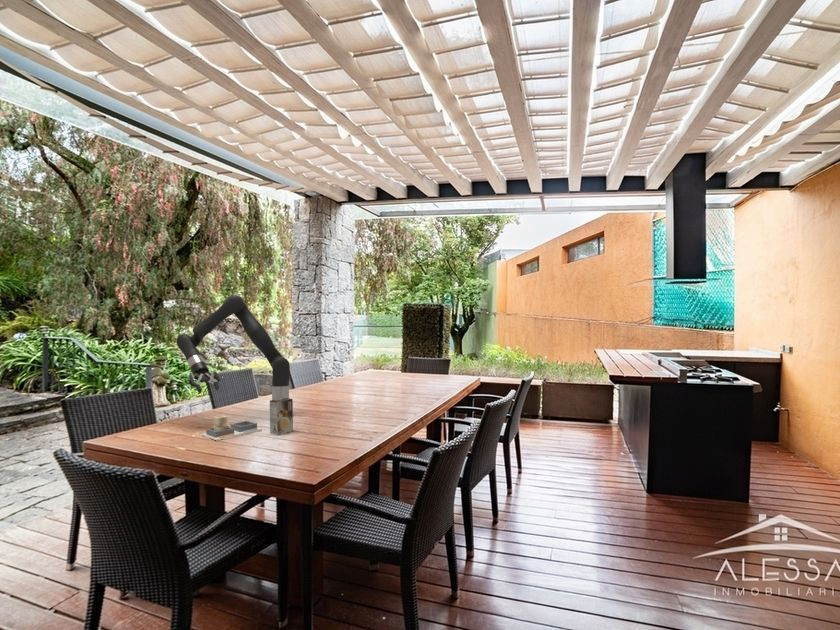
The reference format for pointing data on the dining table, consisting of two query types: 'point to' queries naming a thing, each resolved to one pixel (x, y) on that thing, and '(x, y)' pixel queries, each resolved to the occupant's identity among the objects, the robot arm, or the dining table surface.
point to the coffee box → (281, 416)
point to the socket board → (233, 430)
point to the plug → (220, 423)
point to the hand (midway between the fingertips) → (209, 390)
